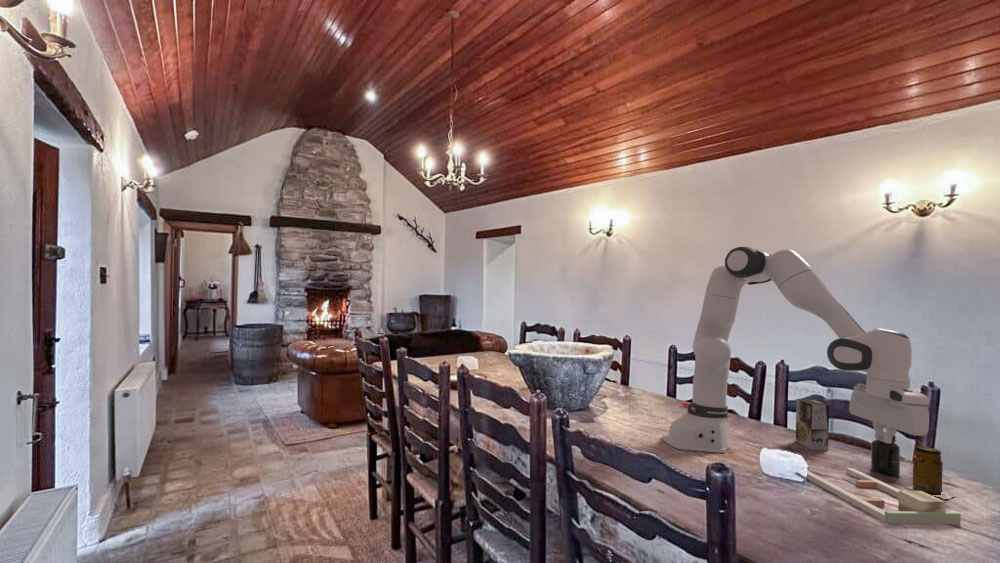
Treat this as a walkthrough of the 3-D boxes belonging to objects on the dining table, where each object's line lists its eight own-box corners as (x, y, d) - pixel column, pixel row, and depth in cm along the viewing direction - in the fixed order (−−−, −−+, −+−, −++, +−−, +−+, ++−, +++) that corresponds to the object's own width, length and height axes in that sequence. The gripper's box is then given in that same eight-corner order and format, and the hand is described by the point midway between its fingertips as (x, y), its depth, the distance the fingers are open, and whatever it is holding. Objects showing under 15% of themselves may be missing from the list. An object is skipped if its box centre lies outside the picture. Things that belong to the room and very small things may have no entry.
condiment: (918, 484, 133) (919, 443, 133) (957, 497, 125) (957, 453, 125) (905, 488, 130) (906, 446, 130) (944, 501, 122) (945, 456, 122)
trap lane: (888, 523, 108) (888, 513, 108) (795, 472, 138) (795, 464, 138) (960, 524, 109) (960, 513, 109) (852, 473, 140) (853, 465, 140)
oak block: (921, 522, 110) (921, 501, 110) (898, 510, 116) (898, 490, 116) (945, 522, 110) (945, 501, 110) (921, 510, 116) (921, 491, 116)
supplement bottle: (895, 471, 143) (895, 432, 143) (903, 478, 137) (904, 438, 137) (867, 466, 146) (868, 429, 146) (874, 474, 140) (875, 434, 140)
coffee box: (829, 450, 160) (830, 404, 161) (810, 449, 160) (812, 403, 161) (812, 442, 169) (813, 398, 170) (794, 441, 170) (795, 397, 170)
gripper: (844, 380, 132) (841, 428, 132) (911, 398, 112) (908, 454, 111) (865, 382, 132) (862, 429, 132) (936, 400, 112) (932, 456, 112)
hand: (883, 441), depth 122 cm, fingers closed
